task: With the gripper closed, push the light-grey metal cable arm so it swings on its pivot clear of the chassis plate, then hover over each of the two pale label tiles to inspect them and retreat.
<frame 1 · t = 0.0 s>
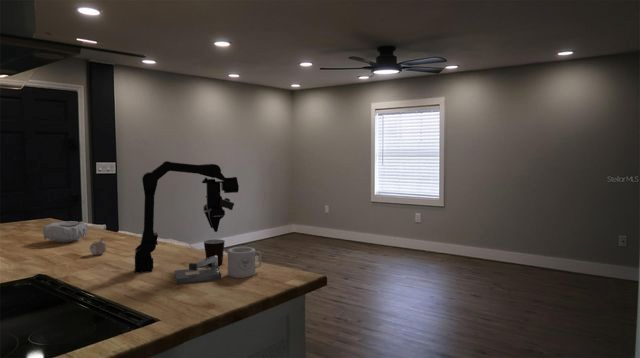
hand: (214, 229, 188), 15 cm above the counter, fingers open, 9 cm apart
bowl: (66, 242, 233), on the counter
coffee mug: (216, 264, 189), on the counter
garlic bulb: (98, 255, 205), on the counter
pivot base: (214, 269, 180), on the counter
cable arm: (204, 265, 174), point 3 cm above the counter, hinge at 45.0°
mug: (245, 274, 174), on the counter
chassis: (197, 277, 169), on the counter
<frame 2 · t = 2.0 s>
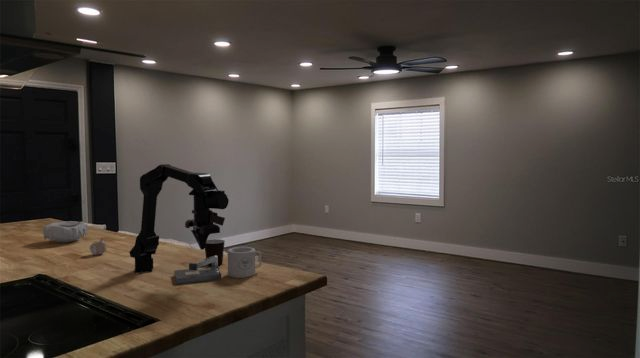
hand: (202, 249, 164), 12 cm above the counter, fingers closed
nothing on the counter moved.
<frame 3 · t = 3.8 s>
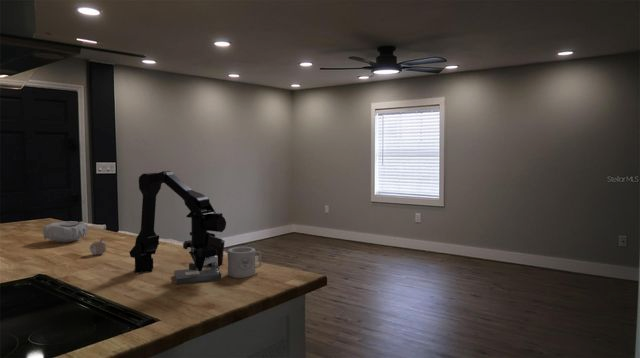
hand: (199, 270, 166), 3 cm above the counter, fingers closed
cable arm: (204, 265, 174), point 3 cm above the counter, hinge at 45.0°, touching gripper
everything else where it was.
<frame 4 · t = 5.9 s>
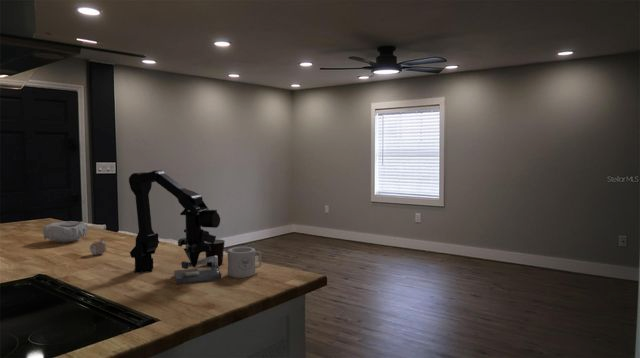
hand: (194, 267, 170), 4 cm above the counter, fingers closed
cable arm: (200, 264, 175), point 3 cm above the counter, hinge at 27.0°, touching gripper
everything else where it was.
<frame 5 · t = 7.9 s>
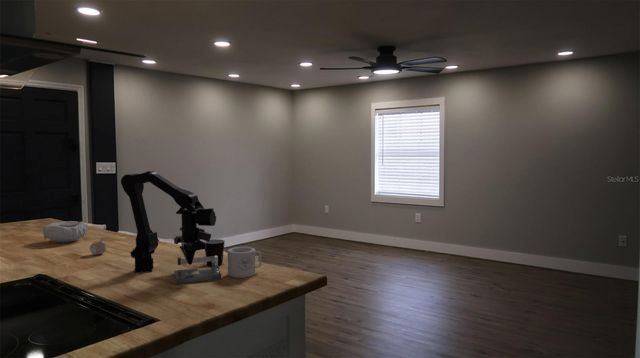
hand: (190, 264, 174), 4 cm above the counter, fingers closed
cable arm: (198, 262, 178), point 3 cm above the counter, hinge at -2.6°
everything else where it was.
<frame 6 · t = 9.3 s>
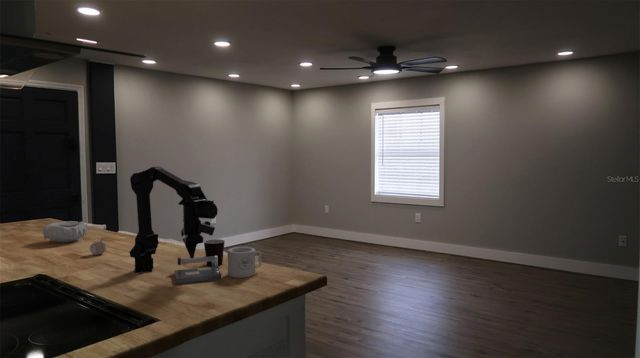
hand: (192, 257, 167), 8 cm above the counter, fingers closed
nothing on the counter moved.
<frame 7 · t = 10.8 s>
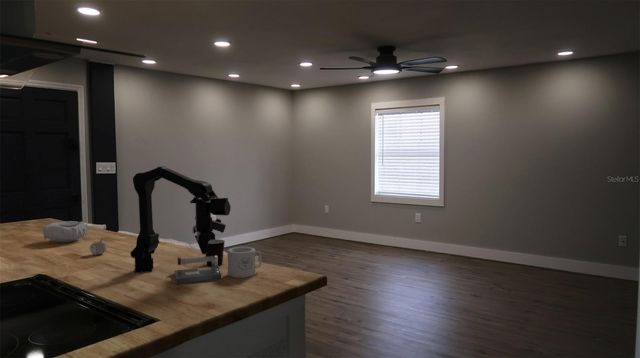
hand: (203, 254, 173), 8 cm above the counter, fingers closed
nothing on the counter moved.
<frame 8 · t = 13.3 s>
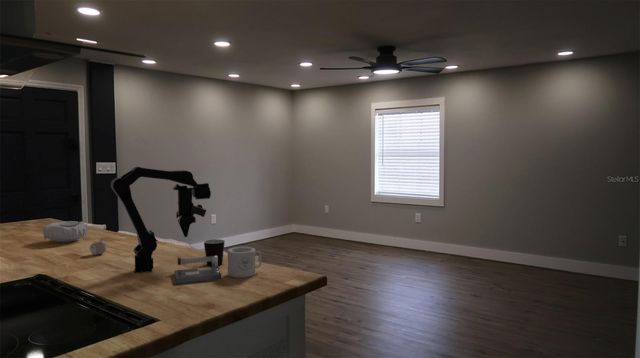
hand: (185, 236, 187), 12 cm above the counter, fingers closed
nothing on the counter moved.
at the end: cable arm at -3° (first picture: +45°) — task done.
